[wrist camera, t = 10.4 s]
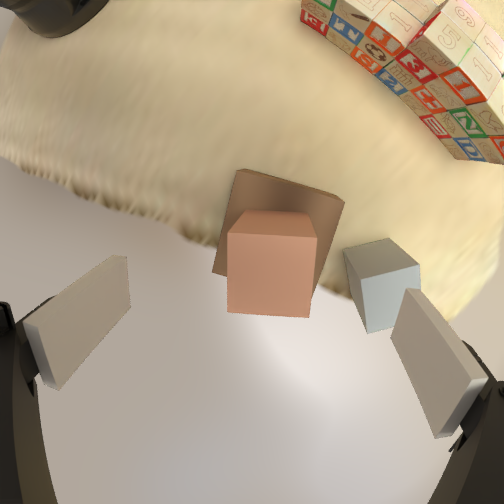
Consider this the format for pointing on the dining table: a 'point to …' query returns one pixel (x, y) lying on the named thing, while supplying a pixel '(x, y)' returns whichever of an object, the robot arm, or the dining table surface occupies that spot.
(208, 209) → the dining table surface
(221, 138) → the dining table surface
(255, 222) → the terracotta block
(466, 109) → the stack of blocks
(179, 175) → the dining table surface
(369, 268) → the greyblue block
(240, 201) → the walnut base
